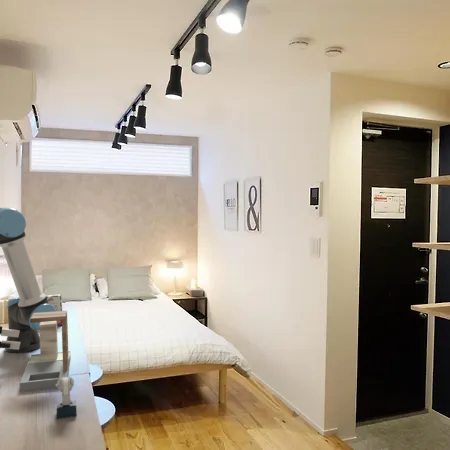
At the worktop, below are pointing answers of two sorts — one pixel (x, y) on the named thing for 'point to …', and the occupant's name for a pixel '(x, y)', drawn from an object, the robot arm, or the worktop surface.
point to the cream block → (48, 340)
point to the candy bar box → (56, 303)
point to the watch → (66, 398)
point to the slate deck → (43, 373)
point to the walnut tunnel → (58, 317)
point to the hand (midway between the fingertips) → (19, 339)
